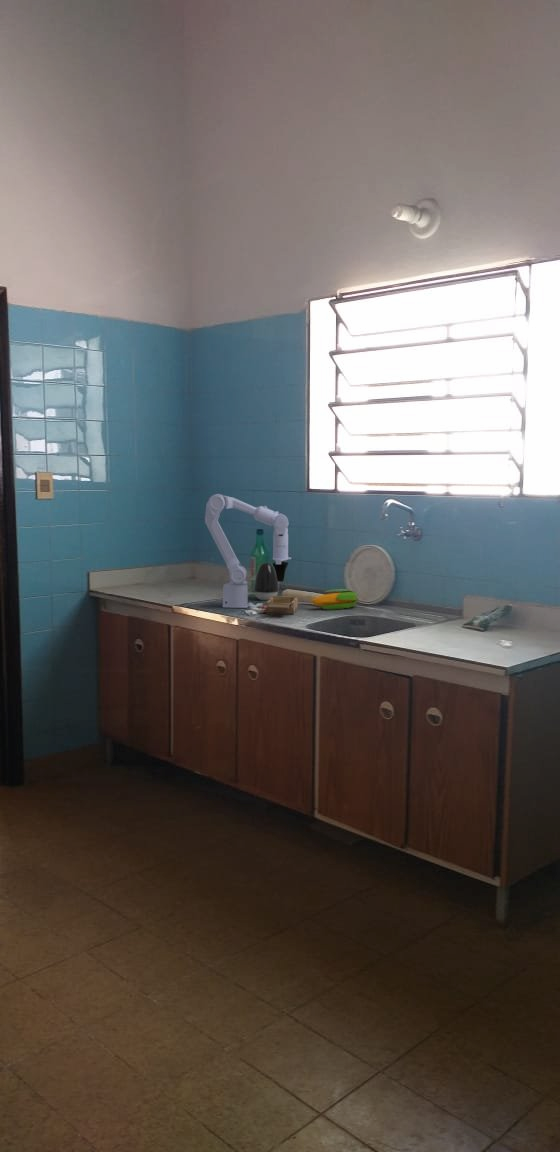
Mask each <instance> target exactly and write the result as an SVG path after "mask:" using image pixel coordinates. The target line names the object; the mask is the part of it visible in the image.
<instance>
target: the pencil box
mask: <svg viewBox="0 0 560 1152" xmlns="http://www.w3.org/2000/svg"><path fill="white" fill-rule="evenodd" d="M271 602H273V597H271V598H270V599H269V600H266V606H265V607H266V609H265V610H266V613H265V614H266V615H283V616H285V615H287V616H288V615H289V616H291V615H292V616H293V615H295V613H296V612H297V611H298V609H299V597H298V596H296V597H295V596H290V602H291V606H290V607H289V608H288V609H267V607H268V606H269V605H270V603H271Z"/></svg>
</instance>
